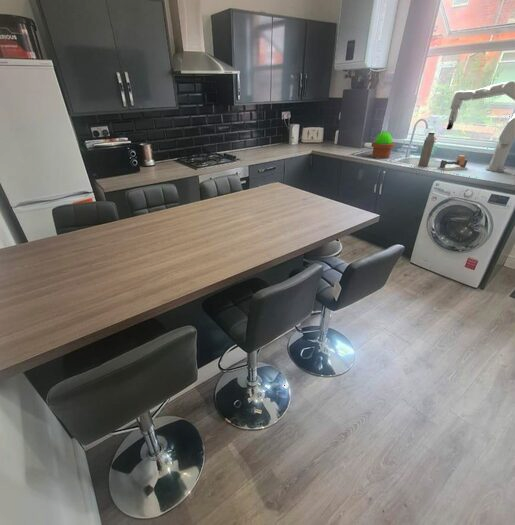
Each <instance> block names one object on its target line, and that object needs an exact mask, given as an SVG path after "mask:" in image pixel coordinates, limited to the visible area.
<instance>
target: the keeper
mask: <svg viewBox="0 0 515 525" xmlns="http://www.w3.org/2000/svg"><path fill="white" fill-rule="evenodd" d="M466 157H467V155H463V154H462V155H461V154H459V155H458V156H457V158H456V160H455V161H460V162H459V164H454V166H463V165H464V162H465V159H466Z"/></svg>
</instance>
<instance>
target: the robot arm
mask: <svg viewBox="0 0 515 525" xmlns="http://www.w3.org/2000/svg"><path fill="white" fill-rule="evenodd" d="M502 95H503V96H504V95H506V96H508V97H509V98H511V99H512V100H513V101H515V80H508V81H505V82H500V83H496V84H492V85H488V86H487V87H481V88H478V89H474V90H465V91H464V90H457V91H455V92H454V94H453V97H452V100H451V101H452V102H451V105H450V114H449V117H448V120H447V121H448V124H447V126H446V130H452V129H453V127H454V123H455V122H456V121H457V117H458V115H459V114H458V113H459V110H461V108H462V105H463V101H464V102H467V101H468V102H469V101H475V100H481V99H488V98H493V97H498V96H502ZM514 141H515V112H514V114H513V115H512V117H511V118H510V119H509V120H508V121H507V123H506V125H505V127H504V128H503V130H502V131H501V133H500V135H499V138H498V142H497V144H496V146H495V149H494V152H493V155H492V157H491V160H490V163H489V165H488V167H486V168H485V170H487V171H490V172H495V173H496V172H498V173H500V172H504V171H505V170H506V169H507V168H506V167H505V163H506V160H507V158H508V155H509V152H510V150H511V148H512V146H513V143H514Z"/></svg>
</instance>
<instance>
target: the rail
mask: <svg viewBox="0 0 515 525" xmlns="http://www.w3.org/2000/svg"><path fill="white" fill-rule="evenodd" d="M459 162H460V161H456V160H454V161H452V160H450V161H447V160H444V159H442V160H441V162H440V164H439V166H436V168H437V169H439V170H441V169H442V171H444V170H445V171H463V170H465V171H466V170H468V167H467V163H468V159H466V158H465V162H464V165H463V166H457V165H455V164H459ZM447 165H448V166H447Z"/></svg>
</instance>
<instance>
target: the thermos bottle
mask: <svg viewBox="0 0 515 525" xmlns="http://www.w3.org/2000/svg"><path fill="white" fill-rule="evenodd" d="M435 134H436V133H435V132H428V134H427V136H426V137H425V139H424V141H423V145H422V150H421V153H420V156H419V159H418V160H419V162H418V167H429V162H430V160H431V157H432V152H433V148H434V145H435V141H436V139H435V138H436V137H435Z"/></svg>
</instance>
